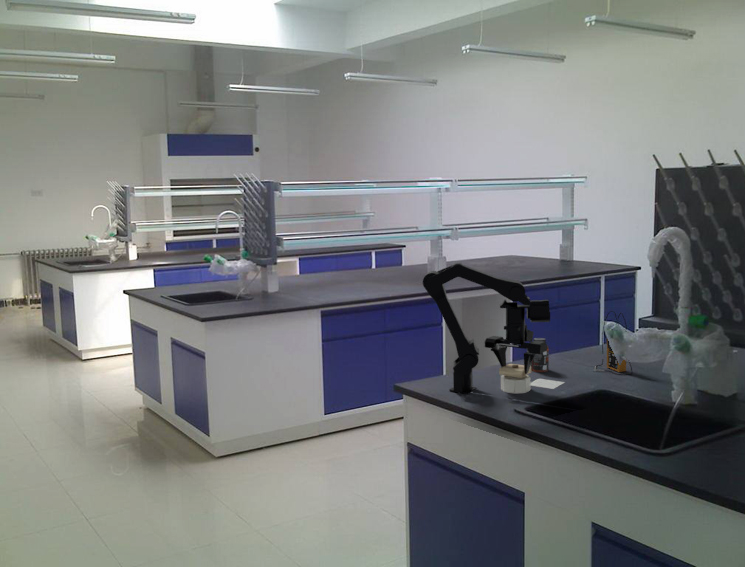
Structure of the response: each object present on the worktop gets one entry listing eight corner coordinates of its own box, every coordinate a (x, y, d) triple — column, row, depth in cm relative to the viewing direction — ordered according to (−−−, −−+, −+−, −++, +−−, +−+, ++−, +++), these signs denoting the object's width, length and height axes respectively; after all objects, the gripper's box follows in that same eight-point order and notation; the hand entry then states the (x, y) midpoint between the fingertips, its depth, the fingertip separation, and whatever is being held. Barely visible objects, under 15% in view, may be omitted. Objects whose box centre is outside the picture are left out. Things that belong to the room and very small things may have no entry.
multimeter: (581, 367, 251) (582, 310, 249) (606, 364, 254) (607, 308, 251) (607, 377, 237) (608, 317, 235) (633, 374, 240) (634, 315, 238)
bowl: (521, 396, 219) (521, 381, 218) (496, 392, 224) (496, 377, 224) (534, 389, 226) (534, 375, 225) (509, 385, 231) (509, 372, 230)
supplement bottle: (550, 373, 245) (550, 340, 243) (532, 373, 245) (532, 340, 243) (546, 369, 251) (546, 336, 249) (529, 369, 251) (529, 337, 249)
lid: (520, 377, 219) (520, 369, 219) (499, 374, 224) (499, 366, 223) (531, 372, 225) (531, 364, 225) (510, 369, 229) (510, 361, 229)
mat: (553, 390, 224) (553, 388, 224) (526, 386, 230) (526, 384, 230) (564, 383, 231) (564, 382, 231) (538, 380, 237) (538, 378, 237)
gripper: (555, 320, 223) (554, 370, 225) (500, 315, 234) (500, 363, 236) (539, 326, 214) (539, 378, 216) (483, 321, 225) (483, 370, 227)
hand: (515, 372), depth 224 cm, fingers closed on lid, 7 cm apart
